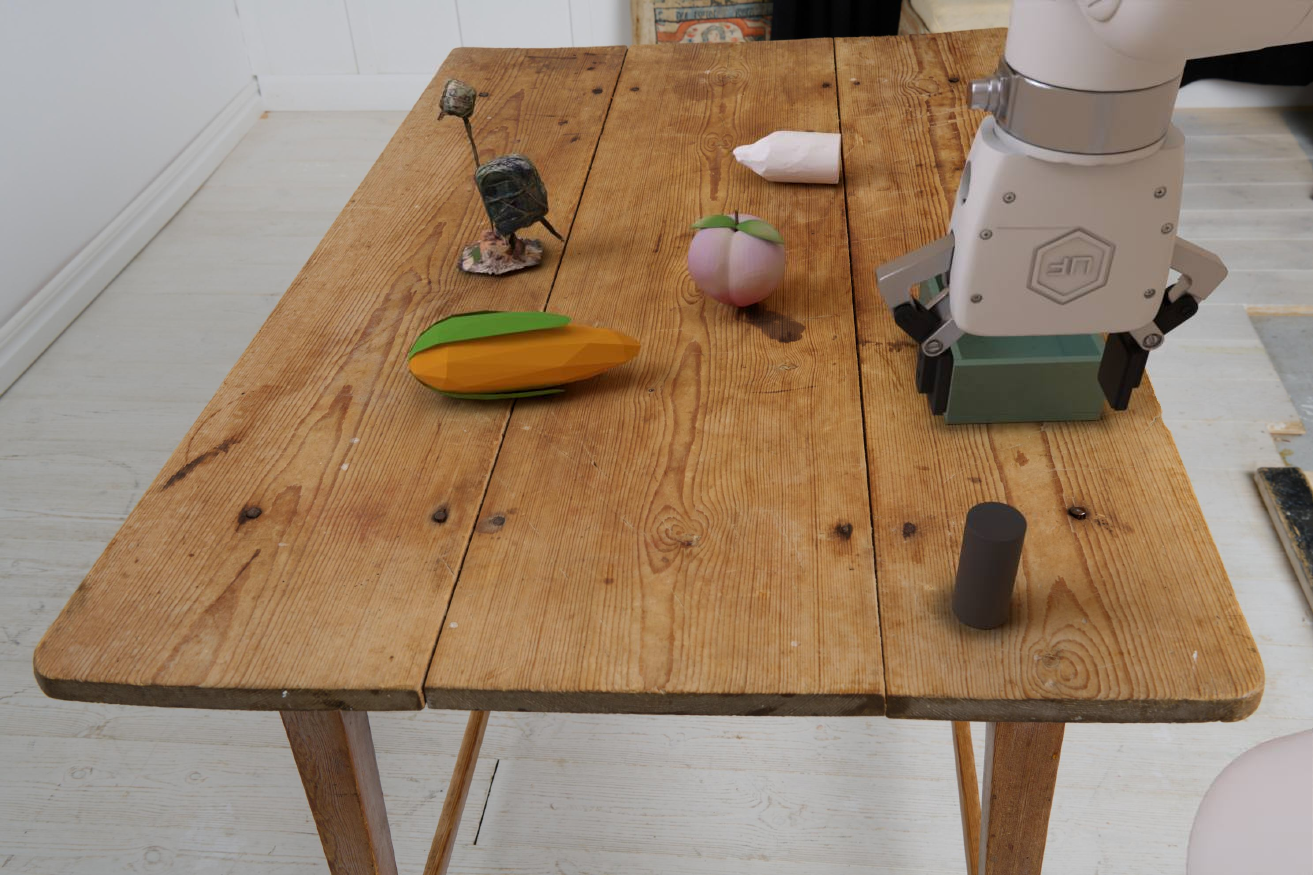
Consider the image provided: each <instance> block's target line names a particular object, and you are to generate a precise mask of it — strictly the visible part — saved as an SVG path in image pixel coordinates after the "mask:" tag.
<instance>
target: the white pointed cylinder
mask: <svg viewBox="0 0 1313 875" xmlns="http://www.w3.org/2000/svg"><path fill="white" fill-rule="evenodd" d="M841 148H842V134H841V133H833V132H819V131H818V132H817V131H815V132H814V131H798V130H797V131H796V130H795V131H794V130H777V131H774V132H772V133H770V134H768V135H766V136H765V137H762V138H761V139H759V140H757V141H756V142H754V143H751V144H744V145H740V146H737V147H735V148H734V149H733V151H732V154H733V156H734V157H735V159H736V162H737V163H738V164H740V165H743V166H745V167H747V168H748V169H749V170H751V171H753V172H754V173H755V174H757V175H758V176H760V177H761V178H763V179H765V180H766V181H768V182H772V183H773V182H774V183H775V182H776V183H798V184H799V183H801V184H803V183H804V184H830V185H831V184H832V185H834V184H835V185H837V184H839V178H840V168H841Z"/></svg>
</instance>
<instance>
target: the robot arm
mask: <svg viewBox="0 0 1313 875" xmlns="http://www.w3.org/2000/svg"><path fill="white" fill-rule="evenodd" d="M1010 8H1011V9H1010V15H1009V20H1008V21H1009V22H1008V27H1007V34H1006V40H1005V47H1004V52H1003V53H1004V54H1000V55H999V59H998V65H997V67H995V69H994V72H993V74H987V75H986V76H985V77H984V78H970V79H969V80H968V81H967V85H966V86H967V87H966V93H965V94H966V96H965V98H966V99H965V100H966V101H965V102H966V108H967V110H983V112H984V113H991V114H989V115H986V116H985V117H984V118H982V120H981V122H980V124H979V126H978V128H977V131H976V133H975V136H974V139H973V141H972V144H971V147H970V150H969V153H968V156H967V159H966V162H965V165H964V168H963V171H962V174H961V178H960V181H959V185H958V187H957V188H958V189H957V191H956V196H955V199H954V204H953V208H952V213H951V216H950V220H949V225H948V229H947V234H946V235H944V236H941V237H940V238H937V239H935V240H933V241H930V242H928V243H926V244H925V245H922V246H920V247H918V248H916V249H914V250H911V251H909V252H906V253H905V254H903V255H900V256H898V257H895V258H894V259H891V260H889V261H887V262H885V263H883V264H880V265H879V266H878V267H876V269H875V270H874V279H875V282H876V286H877V290H878V292H879V294H880V295H881V298H882V300H883V302H884V304H885V305H886V307H887V309H888V311H889V312H890V314H891V315H892V317H893V319H894V323H895V324H896V326H897V327H898V328H900V329H901V330H902V331H903V332H904V333H905V334H907V335H908V336H909V337H910V338H911V339H912V340H913V341H914V342H916V343H917V344H918V352H917V361H916V367H915V368H916V369H915V388H916V390H917V394H918V395H921V394H922V395H926V396H927V401H928V404H929V409H930V412H931V415H932V416H944V414H943V413H946V411H947V405H948V398H949V392H950V385H951V378H952V372H953V365H954V357H953V353H952V350H951V347H950V346H951V345H952V344H953V343H955V342H956V341H957V340H958V339H959V338H960V337H961V336H963V335H964V334H965V333H969V334H973V335H978V336H1042V335H1076V334H1101V335H1102V334H1107V337H1106V341H1105V348H1104V352H1103V356H1102V360H1101V363H1100V367H1099V371H1098V376H1097V378H1098V382H1099V384H1100V386H1101V388H1102V390H1103V392H1104V395H1105V400H1106V401H1107V403H1108V406H1109V407H1110V409H1112V410H1114V411H1115V412H1125V411H1127V410H1128V406H1129V403H1130V400H1131V397H1132V393H1133V389H1139V388H1140V385H1141V383H1142V379H1143V376H1144V372H1145V370H1146V366H1147V362H1148V359H1149V355H1150V353H1151V351H1155V350H1158V348H1160V347H1162V345H1163V344H1164V342H1165V335H1167V334H1168V333H1170V332H1172V331H1173V330H1175V329H1176V328H1178V327H1179V326H1180V325H1182V324H1184V323H1185V322H1187V321H1188V320H1189V319H1191V318H1192V317H1194V316H1195V315H1196V314H1197V312H1198V311H1199V304H1200V303H1201V302H1202V301H1205V300H1206V299H1207V298H1209V296H1210V295H1211V294H1212V293H1213V292H1214V291H1215V290H1216V289H1217V288H1218V286H1220V284H1222V283H1223V281H1224V280H1225V279H1226V278H1227V276H1228V275H1229V274H1228V273H1229V270H1228V268H1227V267H1226V265H1225V264H1224V262H1223V260H1221V258H1220V256H1219V255H1217V254H1216V253H1213V252H1212V251H1209V250H1207V249H1205V248H1203V247H1201V246H1199V245H1197V244H1195V243H1192V242H1190V241H1188V240H1187V239H1184V238H1182V237H1180V236H1178V235H1177V234H1178V233H1177V232H1178V226H1179V219H1180V213H1181V203H1182V196H1183V195H1182V194H1183V186H1184V176H1185V163H1186V162H1185V161H1186V160H1185V156H1186V136H1185V134H1184V132H1183V131H1182V130H1181V129H1180V128H1178V127H1177V126H1176V125H1175V124H1174V123H1173V122H1172V121H1171V120H1172V116H1173V112H1174V110H1175V104H1176V101H1177V97H1178V93H1179V90H1180V86H1181V83H1182V78H1183V74H1184V70H1185V67H1186V64H1187V61H1188V60H1195V59H1203V58H1209V57H1217V56H1225V55H1231V54H1239V53H1245V52H1251V51H1258V50H1262V49H1264V48H1271V47H1277V46H1284V45H1292V44H1301V43H1305V42H1313V0H1012V2H1011V7H1010ZM1170 270H1173V271H1175V272H1177V273H1180V274H1181V275H1180V276H1179V278H1178V279H1177V282H1176V283H1172V284H1170V285H1168V286H1167V283H1168V280H1169V275H1170ZM939 274H942V282H943V285H944V287H945V289H944V290H942V291H941V292H940V293H939V294H938V295H937V296H936V297H935V298H934V299H932V300H931V301H930V302H929V303H928V304H927V305H926V306H925V307H924V306H923V305H922V304H921V303H920V302H919V301H918V298H916V297H914V295H912V294H911V292H910V291H911V289H912V288H913V287H915V286H917V285H920V283H921V282H924V281H926V280H928V279H930V278H933V277H935V276H937V275H939ZM1189 832H1190V833H1189V837H1188V843H1187V848H1186V860H1185V862H1186V863H1185V875H1313V727H1312V728H1308V729H1305V730H1301V731H1298V732H1293V733H1290V734H1287V735H1283V736H1279V737H1274V738H1272V739H1269V740H1266V741H1263V742H1260V743H1259V744H1256V745H1254V746H1253V747H1251V748H1249V749H1247V750H1245V751H1244V752H1242V753H1241V754H1240V755H1238V756H1236V757H1235V758H1234V759H1233V760H1232V761H1231V762H1229V763H1228V764H1227V765H1226V766H1225V767H1224V768H1223V769H1222V770H1221V771H1220V772H1219V773H1218V774H1217V776H1216V777H1215V778H1214V779H1213V781H1212V783H1211V784H1210V785H1209V787H1208V788H1207V790H1206V791H1205V793H1204V795H1203V797H1202V799H1201V801H1200V803H1199V805H1198V808H1197V810H1196V813H1195V815H1194V818H1193V821H1192V825H1191V828H1190V831H1189Z"/></svg>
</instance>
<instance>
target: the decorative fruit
mask: <svg viewBox="0 0 1313 875" xmlns="http://www.w3.org/2000/svg"><path fill="white" fill-rule="evenodd" d="M688 229H689V230H694V229H699V230H698V231H697V232H696V233H695V235H694V236H693V238H692V240H691V242H690V245H689V248H688V253H687V261H686V262H687V264H686V265H687V271H688V273H689V276H690V278H691V279H692V281H693V282H694V284H695V285H696V286H697V287H698V289H700V290H701V291H702V292H703V293H704V294H705V295H707V296H709V297H710V298H711V299H712V300H714V301H716V302H718V303H721V304H723V305H727V306H732V307H739V308H744V307H747V306H751V305H753V304H756V303H759V302H761V301H764V300H765V299H767V298H768V297H769V296H771V295H772V294H773V293H774V292H775V291H777V289H778V288H779V286H780V285H781V283H782V282H783V279H784V277H785V274H786V265H787V264H786V261H787V260H786V258H787V256H786V247H785V245H786V242H785V240H784V238H783V236H782V234H781V233H780V231H778V230H777V228H776V227H775V226H773V224H771V223H769V221H767V220H766V219H763V218H761V217H758V216H756V215H752V214H747V213H739V211H738V209H734V213H729V214H726V215H725V214H712V215H711V214H710V215H706V216H705V217H702V218H701V219H699V220H697V221H696V222H694V223H692V225H690V227H689V228H688Z"/></svg>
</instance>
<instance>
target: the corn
mask: <svg viewBox="0 0 1313 875" xmlns="http://www.w3.org/2000/svg"><path fill="white" fill-rule="evenodd" d="M641 348H642V345H641V344H640V342H639V340H638V339H636V338H635V337H632V336H630V335H628V334H627V333H625V332H622V331H618V330H615V329H614V330H613V329H608V328H602V327H596V326H590V325H583V324H577V323H572V317H570V316H567V315H563V314H558V313H552V312H545V311H534V310H533V311H506V310H505V311H503V310H488V309H484V310H478V311H469V312H461V313H454V314H451V315H449V316H446V317H444V318H442V319H439V320H437V321H435V322H434V323H432V324H431V325H430V326H429V327H427V328H426V329H425V330H423V331H422V332H420V333H419V335H418V337H417V339H416V341H415V342H414V343H413V345H412V346H411V348H410V350H409V351H408V355H407V362H408V363H407V365H408V369H409V373H410V374H411V376H412V377H413V378H414V379H415V380H416V381H417V382H418V383H419V384H420V385H422V386H423V387H424V388H427V389H428V390H431V391H432V392H434V393H436V394H440V395H443V396H447V397H451V398H455V399H468V400H469V399H470V400H486V401H487V400H499V399H500V400H501V399H515V398H528V397H534V396H540V395H547V394H555V393H561V392H562V393H563V392H566V391H567V390H565V389H547V390H538V389H546V388H551V387H555V386H559V385H564V384H569V383H574V382H579V381H583V380H587V379H591V378H592V377H595V376H597V375H599V374H602V373H604V372H606V371H609V370H611V369H613V368H616V367H618V366H621V365H622V364H625V363H628V362H629V361H632V359H634V358H636V357H637V356H638V355H639V353H640V352H641V351H640V350H641ZM528 390H537V391H528ZM518 391H519V392H518ZM520 391H528V392H520ZM509 392H516V393H509ZM499 393H500V394H499Z"/></svg>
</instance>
